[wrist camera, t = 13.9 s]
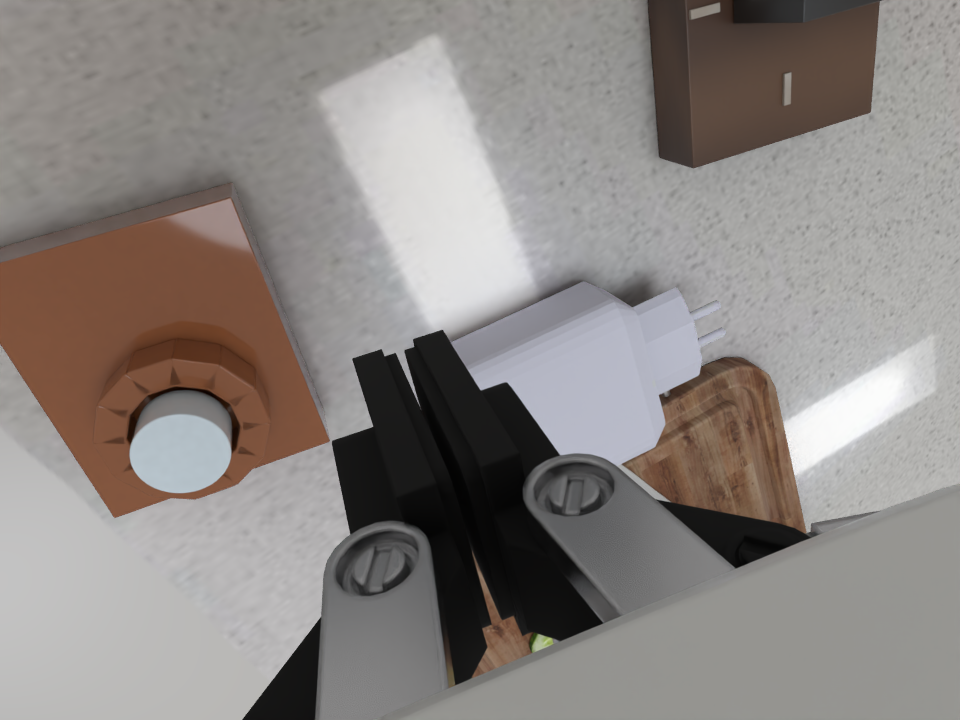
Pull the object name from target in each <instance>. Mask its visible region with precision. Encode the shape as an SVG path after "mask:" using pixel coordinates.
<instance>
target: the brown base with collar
mask: <svg viewBox="0 0 960 720" xmlns="http://www.w3.org/2000/svg"><path fill="white" fill-rule="evenodd" d="M0 344H1V346H2V347H3V349H4V350H5V352H6V353H7V355H8V356H9V358H10V359H11V361H12V362H13V364H14V365H15V367H16V368H17V370H18V372H19V373H20V375H21V376H22V378H23V379H24V381H25V382H26V384H27V385H28V387H29V388H30V390H31V391H32V393H33V394H34V396H35V397H36V399H37V400H38V402H39V404H40V405H41V407H42V408H43V410H44V411H45V413H46V414H47V416H48V417H49V419H50V420H51V422H52V423H53V425H54V426H55V428H56V429H57V431H58V433H59V434H60V436H61V437H62V439H63V440H64V442H65V443H66V445H67V446H68V448H69V449H70V451H71V452H72V454H73V455H74V457H75V458H76V460H77V461H78V463H79V465H80V466H81V468H82V469H83V471H84V472H85V474H86V475H87V477H88V478H89V480H90V481H91V483H92V484H93V486H94V487H95V489H96V490H97V492H98V494H99V495H100V497H101V498H102V500H103V501H104V503H105V504H106V506H107V507H108V509H109V510H110V512H111V513H112V515H113V516H114V518H116V517H119V516H122V515H125V514H128V513H130V512H133V511H136V510H139V509H142V508H144V507H147V506H150V505H153V504H156V503H158V502H161V501H164V500H167V499H170V498H179V499H199V498H202V497H205V496H207V495H210V494H213V493H216V492H218V491H221V490H224V489H227V488H230V487H232V486H235V485H236V484H238V483H239V482H240V481H241V480H242V479H243V478H244V477H245V476H246V475H247V474H248V473H249V472H250V471H251V470H252V469H254V468H257V467H260V466H262V465H265V464H268V463H271V462H274V461H276V460H279V459H282V458H285V457H288V456H291V455H293V454H296V453H299V452H302V451H305V450H307V449H310V448H313V447H316V446H319V445H321V444H324V443H327V442H329V441H330V439H329V434H328V429H327V424H326V419H325V414H324V410H323V407H322V405H321V402H320V400H319V397H318V395H317V392H316V390H315V387H314V385H313V382H312V380H311V377H310V375H309V372H308V370H307V367H306V365H305V362H304V360H303V357H302V355H301V352H300V350H299V347H298V345H297V342H296V340H295V337H294V335H293V332H292V330H291V327H290V325H289V322H288V320H287V317H286V315H285V312H284V310H283V307H282V305H281V302H280V300H279V297H278V295H277V292H276V290H275V287H274V285H273V282H272V280H271V277H270V275H269V272H268V269H267V267H266V264H265V262H264V259H263V257H262V254H261V252H260V249H259V247H258V244H257V242H256V239H255V237H254V234H253V232H252V229H251V227H250V224H249V222H248V219H247V217H246V214H245V212H244V209H243V207H242V204H241V202H240V199H239V197H238V194H237V192H236V189H235V187H234V184H233V183H228V184H224V185H221V186H217V187H213V188H210V189H206V190H203V191H199V192H196V193H192V194H189V195H185V196H181V197H178V198H174V199H171V200H167V201H164V202H160V203H157V204H153V205H149V206H146V207H142V208H139V209H135V210H132V211H128V212H125V213H121V214H118V215H114V216H110V217H107V218H103V219H100V220H96V221H93V222H89V223H86V224H82V225H78V226H75V227H71V228H68V229H64V230H61V231H57V232H54V233H50V234H46V235H43V236H39V237H36V238H32V239H29V240H25V241H22V242H18V243H15V244H11V245H7V246H4V247H0ZM176 390H193V391H199V392H202V393H205V394H207V395H210V396H212V397H213V398H215V399H216V400H218V401H219V402H220V403H221V404H222V405H223V406H224V407H225V408H226V410H227V411H228V413H229V415H230V417H231V421H232V453H231V460H230V463H229V466H228V468H227V470H226V471H225V473H224V474H223V475H222V476H221V477H220V478H219V479H218V480H217V481H216V482H214V483H213V484H211V485H210V486H208V487H206V488H203V489H201V490H198V491H194V492H189V493H169V492H165V491H161V490H158V489H155V488H153V487H151V486H149V485H148V484H146V483H145V482H144V481H142V480H141V479H140V478H139V477H138V476H137V474H136V473H135V471H134V470H133V468H132V465H131V462H130V457H129V451H130V445H131V442H132V438H133V435H134V431H135V428H136V424H137V420H138V418H139V415H140V413H141V411H142V410H143V408H144V407H145V406H146V405H147V404H148V403H149V402H150V401H152V400H153V399H154V398H156V397H158V396H160V395H162V394H165V393H167V392H171V391H176Z"/></svg>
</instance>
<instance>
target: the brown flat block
mask: <svg viewBox="0 0 960 720" xmlns="http://www.w3.org/2000/svg"><path fill="white" fill-rule="evenodd" d="M879 4H880V1H878V2H875V3H871V4H868V5H864V6H861V7H857V8H854V9H850V10H847V11H843V12H840V13H836V14H833V15H829V16H825V17H822V18H818V19H815V20H811V21H808V22H804V23H751V24H734V0H648V5H649V18H650V32H651V46H652V59H653V73H654V86H655V100H656V114H657V127H658V141H659V154H660V158H662V159H665V160H668V161H671V162H675V163H678V164H681V165H684V166H688V167H691V168H696V167H699V166H702V165H706V164H709V163H712V162H715V161H718V160H721V159H725V158H728V157H731V156H734V155H737V154H740V153H744V152H747V151H750V150H753V149H756V148H760V147H763V146H766V145H769V144H772V143H775V142H779V141H782V140H785V139H788V138H791V137H794V136H798V135H801V134H804V133H807V132H810V131H814V130H817V129H820V128H823V127H826V126H829V125H833V124H836V123H839V122H842V121H845V120H848V119H852V118H855V117H858V116H861V115H864V114H868V113H870V112H871V102H872V90H873V78H874V65H875V53H876V41H877V28H878V16H879Z"/></svg>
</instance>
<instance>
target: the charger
mask: <svg viewBox="0 0 960 720" xmlns="http://www.w3.org/2000/svg"><path fill="white" fill-rule="evenodd" d="M720 306H721V304H720V303H719V301H717V300H715V301H713V302H711V303H709V304H707V305H705V306H703V307H701V308H699V309H696V310H694V311H692V312H689V309H688V307H687V305H686V303H685V301H684V298H683V296H682V294H681V293H680V292H679V290H678V289H677V287H675V288H673V289H671V290H669V291H667V292H664V293H662V294H660V295H658V296H656V297H654V298H652V299H650V300H647V301H645V302H643V303H641V304H639V305H637V306H635V307H631V306H629V305H628V304H626V303H625V302H623V301H622V300H620V299H618V298H617V297H615V296H614V295H612V294H611V293H609V292H607V291H606V290H604V289H601V288H599V287H597V286H594V285H592V284H590V283H587V282H585V281H583V282H581V283H578V284H576V285H574V286H572V287H570V288H568V289H565V290H563V291H561V292H559V293H557V294H555V295H552V296H550V297H548V298H546V299H544V300H542V301H539V302H537V303H535V304H533V305H531V306H529V307H526V308H524V309H522V310H520V311H518V312H516V313H513V314H511V315H509V316H507V317H505V318H502V319H500V320H498V321H496V322H494V323H492V324H489V325H487V326H485V327H483V328H481V329H479V330H476V331H474V332H472V333H470V334H468V335H466V336H463V337H461V338H459V339H457V340H455V341H453V342H451V344H452V346H453V347H454V349H455V350H456V352H457V354H458V355H459V357H460V358H461V360H462V362H463V363H464V365H465V366H466V368H467V370H468V371H469V373H470V374H471V376H472V377H473V379H474V381H475V382H476V384H477V385H478V387H479V389H480V390H484V389H486V388H489V387H492V386H495V385H498V384H501V383H504V382H507V383H508V384H509V385H510V386H511V387H512V389H513V390H514V391H515V393H516V394H517V396H518V397H519V398H520V400H521V401H522V403H523V404H524V405H525V407H526V408H527V409H528V411H529V412H530V414H531V415H532V416H533V418H534V419H535V421H536V422H537V423H538V425H539V426H540V428H541V429H542V430H543V432H544V433H545V435H546V436H547V437H548V439H549V440H550V442H551V443H552V444H553V446H554V447H555V449H556V450H557V451H558V453H559V454H560V455H566V454H574V453H580V454H592V455H595V456H599V457H602V458H605V459H607V460H608V461H610V462H611V463H613V464H615V465H616V466H618V465H620V464H622V463H624V462H626V461H628V460H630V459H632V458H634V457H636V456H638V455H640V454H643V453H645V452H647V451H649V450H651V449H653V448H654V447H655V446H656V444H657V442H658V440H659V438H660V435H661V433H662V431H663V429H664V426H665V418H664V413H663V410H662V406H661V402H660V398H659V395H660V394H662V393H664V392H666V391H668V390H670V389H672V388H674V387H676V386H678V385H680V384H682V383H685V382H687V381H689V380H691V379H693V378H695V377H697V376H698V375H699V374H700V369H701V363H702V357H701V352H700V348H701V347H703V346H705V345H707V344H709V343H711V342H713V341H715V340H717V339H719V338H721V337H723V336H725V334H726V331H725V330H724V329H723V328H719V329H717V330H715V331H713V332H711V333H709V334H707V335H705V336H702V337H700V338H697V333H696V329H695V324H694V321H695V320H697V319H699V318H701V317H703V316H706V315H708V314H710V313H712V312H714V311H716V310H718V309H720Z"/></svg>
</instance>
